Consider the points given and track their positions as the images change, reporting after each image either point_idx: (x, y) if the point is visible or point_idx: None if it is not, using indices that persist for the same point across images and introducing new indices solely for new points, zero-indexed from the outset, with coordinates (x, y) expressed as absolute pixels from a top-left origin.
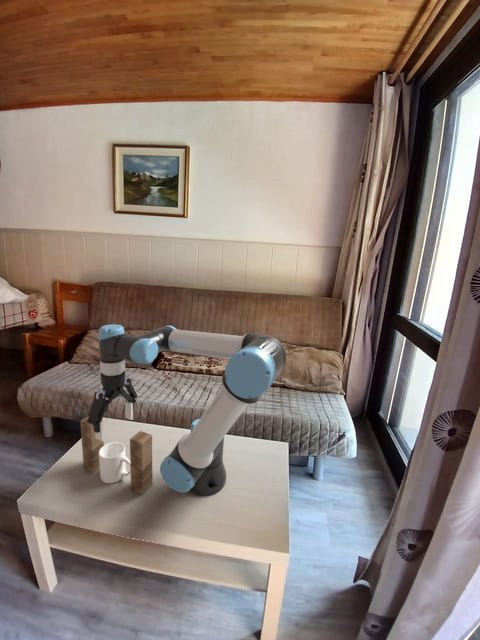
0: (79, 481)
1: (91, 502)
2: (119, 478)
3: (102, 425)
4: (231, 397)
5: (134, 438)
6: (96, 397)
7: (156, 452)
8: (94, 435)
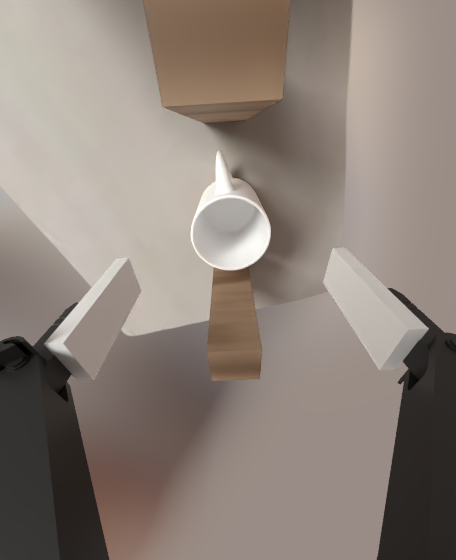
0: (273, 253)
1: (313, 184)
2: (237, 178)
3: (393, 308)
4: None
5: (263, 59)
6: None
7: (100, 168)
8: (244, 310)
